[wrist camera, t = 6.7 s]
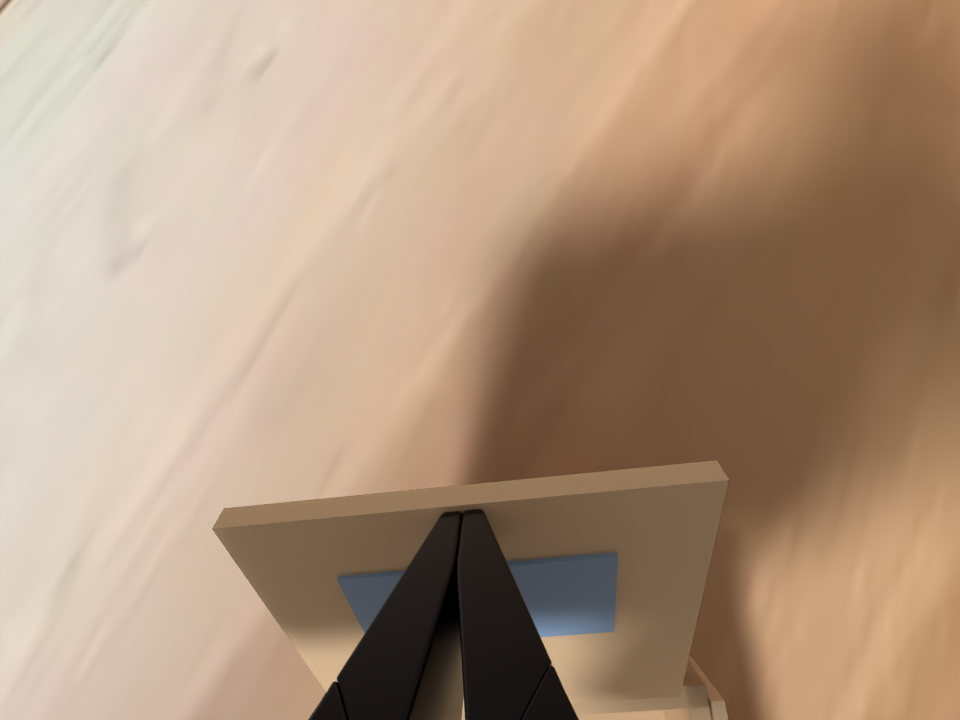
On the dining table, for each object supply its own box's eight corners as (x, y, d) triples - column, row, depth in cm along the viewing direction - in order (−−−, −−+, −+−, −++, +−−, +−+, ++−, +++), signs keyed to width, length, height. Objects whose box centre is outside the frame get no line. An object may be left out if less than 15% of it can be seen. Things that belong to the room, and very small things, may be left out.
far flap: (681, 700, 13) (731, 484, 8) (343, 722, 14) (209, 533, 9) (673, 677, 14) (716, 460, 9) (348, 699, 14) (224, 508, 9)
